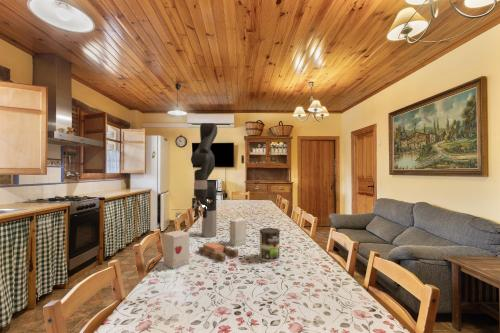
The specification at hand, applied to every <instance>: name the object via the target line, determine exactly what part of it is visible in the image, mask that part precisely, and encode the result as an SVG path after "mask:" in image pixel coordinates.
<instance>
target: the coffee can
mask: <svg viewBox="0 0 500 333" xmlns="http://www.w3.org/2000/svg"><path fill="white" fill-rule="evenodd" d="M280 233H281V232H280V229H278V228H274V227H265V228H261V229H259V259H260V260H262V261H265V262H275V261H279V259H280Z"/></svg>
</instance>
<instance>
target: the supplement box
mask: <svg viewBox="0 0 500 333" xmlns="http://www.w3.org/2000/svg"><path fill="white" fill-rule="evenodd" d="M162 264H163V265H164V264H165V265H164V266H166V265H167V266H166V267H168V266H169V267H168V268H170V267H171V268H170V269H172V268H173V269H172V270H175V269H178V268H182V267H185V266H187V265H189V264H190V233H189V232H187V231H183V230H174V231H170V232H164V233H163V262H162ZM184 265H185V266H184ZM181 266H182V267H181ZM177 267H178V268H177ZM174 268H175V269H174Z"/></svg>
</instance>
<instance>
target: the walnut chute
mask: <svg viewBox="0 0 500 333" xmlns="http://www.w3.org/2000/svg"><path fill="white" fill-rule="evenodd" d="M198 253H200V254H203V255H204V256H206V257H209V258H212V259H215V260H217V261H219V262H226V255H228V256H230V257H234V258H238V257H239V249H237V248H233V249H232V248H229V247H226V246H224V253H221V254H220V253H217V252H215V251H212V250H209V249H206V248H204V247H203V246H199V247H198Z"/></svg>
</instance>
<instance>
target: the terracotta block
mask: <svg viewBox="0 0 500 333" xmlns="http://www.w3.org/2000/svg"><path fill="white" fill-rule="evenodd" d="M202 245H203V246H202V247H204V248H206V249H209V250H212V251H215V252H217V253H220V254H221V253H224V247H225V246H224V245H223V244H219V243H217V242H216V243H215V242H213V241H211V242H208V243H203V244H202Z"/></svg>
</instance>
